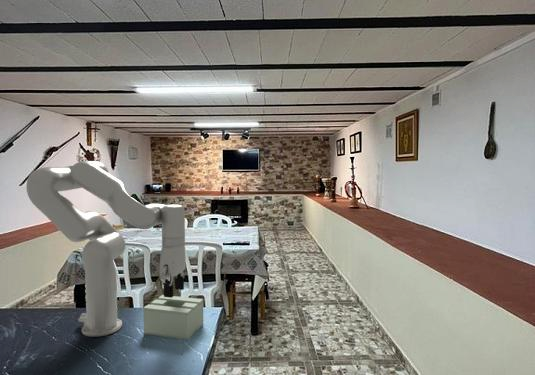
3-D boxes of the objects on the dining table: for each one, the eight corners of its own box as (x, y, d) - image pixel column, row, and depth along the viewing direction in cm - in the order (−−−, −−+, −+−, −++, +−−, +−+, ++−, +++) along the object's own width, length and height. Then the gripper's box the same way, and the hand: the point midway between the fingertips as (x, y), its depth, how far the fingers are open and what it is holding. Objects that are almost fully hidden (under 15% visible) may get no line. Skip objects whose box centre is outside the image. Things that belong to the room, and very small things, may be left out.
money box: (143, 334, 118) (143, 307, 117) (162, 319, 129) (162, 294, 129) (187, 340, 114) (187, 312, 113) (203, 323, 126) (203, 299, 125)
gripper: (176, 235, 129) (176, 284, 130) (149, 246, 112) (150, 301, 113) (195, 236, 127) (195, 285, 128) (170, 247, 110) (171, 303, 112)
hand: (174, 292), depth 121 cm, fingers open, 6 cm apart
